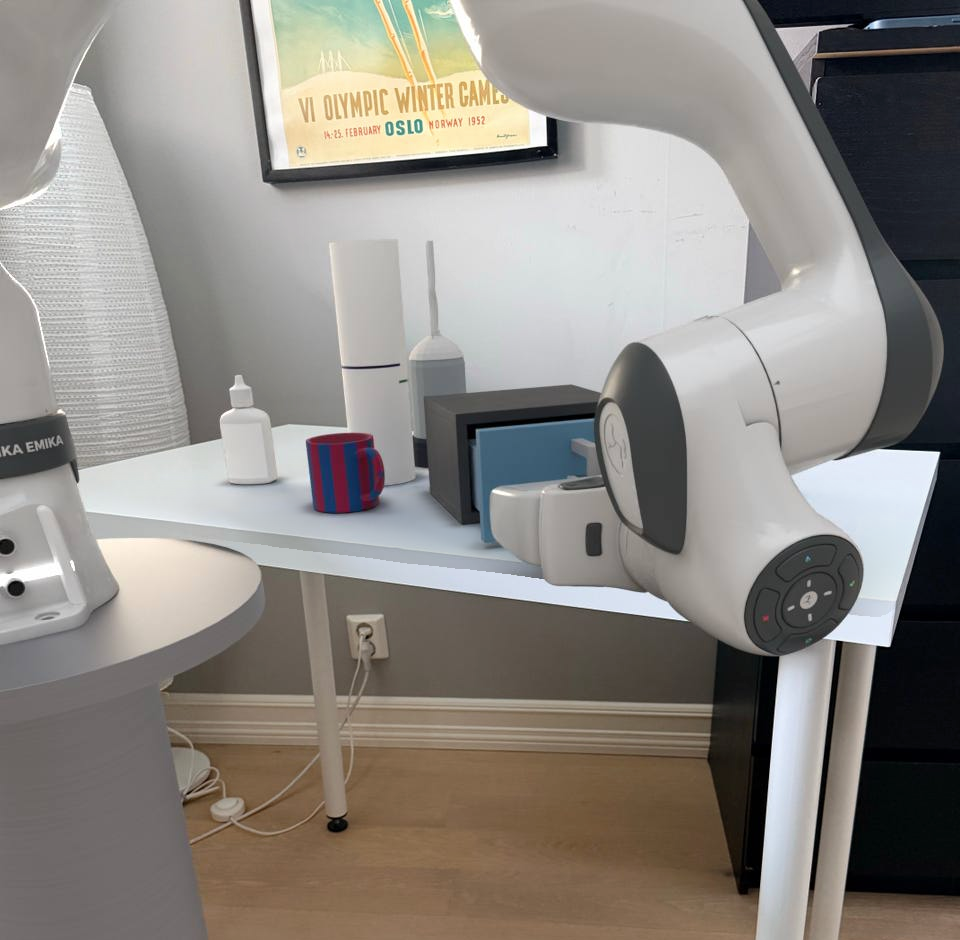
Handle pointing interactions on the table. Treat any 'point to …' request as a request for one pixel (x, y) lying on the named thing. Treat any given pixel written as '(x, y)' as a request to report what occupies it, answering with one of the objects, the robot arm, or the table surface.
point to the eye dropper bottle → (247, 439)
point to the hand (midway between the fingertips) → (592, 483)
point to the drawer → (527, 459)
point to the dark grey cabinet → (466, 412)
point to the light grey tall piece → (432, 368)
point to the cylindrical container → (374, 349)
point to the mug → (344, 472)
